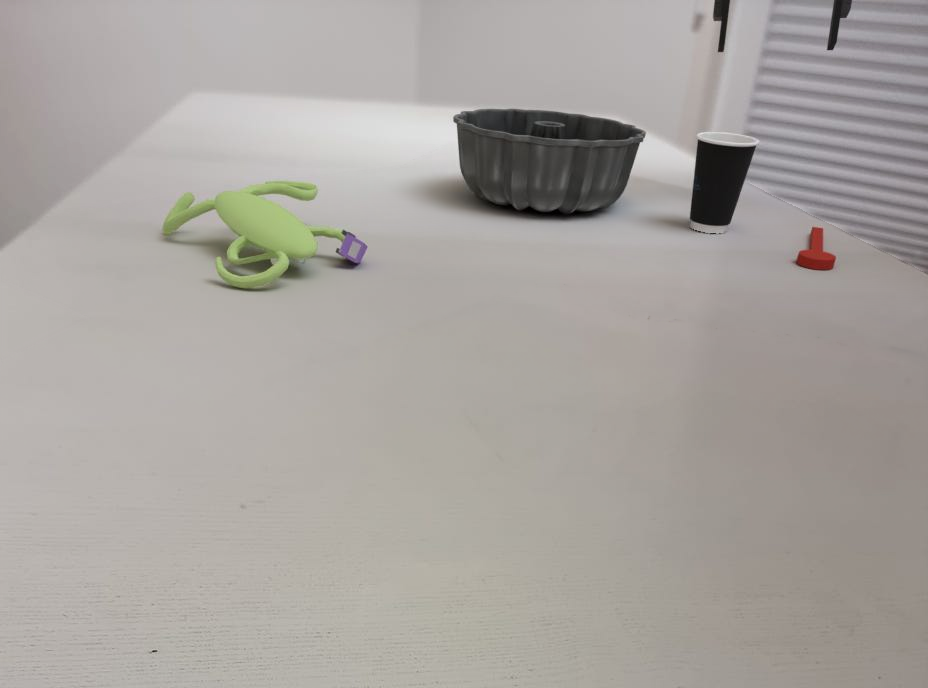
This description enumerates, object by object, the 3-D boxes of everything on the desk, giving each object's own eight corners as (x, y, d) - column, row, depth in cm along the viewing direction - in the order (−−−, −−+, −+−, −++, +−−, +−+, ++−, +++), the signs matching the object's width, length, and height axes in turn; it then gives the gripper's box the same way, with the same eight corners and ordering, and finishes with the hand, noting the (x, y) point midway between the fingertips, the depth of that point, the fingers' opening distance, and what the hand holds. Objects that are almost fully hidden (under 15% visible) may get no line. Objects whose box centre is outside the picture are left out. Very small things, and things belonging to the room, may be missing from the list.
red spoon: (832, 237, 123) (835, 227, 123) (833, 272, 110) (836, 261, 109) (799, 232, 124) (801, 223, 124) (795, 266, 111) (798, 256, 110)
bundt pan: (539, 174, 145) (546, 102, 139) (671, 211, 130) (686, 132, 124) (411, 191, 131) (413, 111, 125) (543, 235, 116) (553, 147, 110)
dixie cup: (750, 234, 122) (773, 141, 116) (707, 239, 119) (728, 144, 112) (708, 219, 127) (727, 130, 121) (666, 224, 124) (683, 132, 117)
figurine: (300, 217, 116) (298, 168, 113) (396, 277, 98) (397, 221, 95) (155, 228, 108) (148, 176, 105) (230, 295, 90) (225, 235, 87)
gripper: (903, -138, 113) (872, 56, 118) (696, -126, 118) (676, 59, 123) (919, -174, 106) (886, 34, 111) (698, -160, 111) (676, 38, 116)
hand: (775, 47), depth 117 cm, fingers open, 13 cm apart
